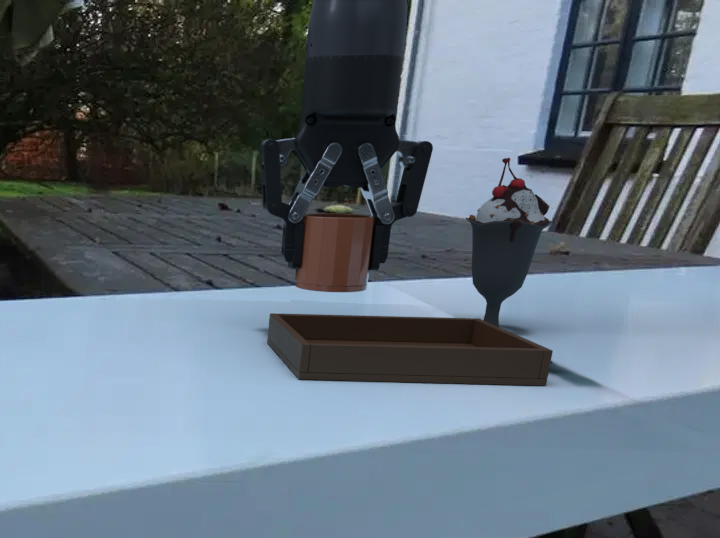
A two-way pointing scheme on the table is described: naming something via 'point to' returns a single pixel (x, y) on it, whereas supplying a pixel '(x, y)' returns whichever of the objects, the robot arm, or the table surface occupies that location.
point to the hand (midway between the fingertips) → (332, 268)
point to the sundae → (505, 241)
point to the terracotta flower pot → (335, 252)
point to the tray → (406, 350)
